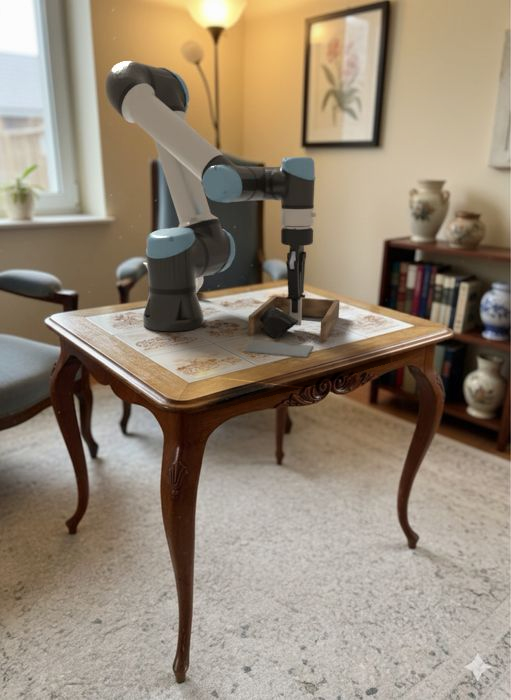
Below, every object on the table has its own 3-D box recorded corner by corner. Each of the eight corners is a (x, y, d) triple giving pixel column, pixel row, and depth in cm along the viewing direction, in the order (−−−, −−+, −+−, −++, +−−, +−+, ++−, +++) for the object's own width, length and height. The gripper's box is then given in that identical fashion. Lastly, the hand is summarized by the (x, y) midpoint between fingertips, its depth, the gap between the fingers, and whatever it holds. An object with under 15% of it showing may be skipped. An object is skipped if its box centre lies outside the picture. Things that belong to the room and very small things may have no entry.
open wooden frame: (248, 336, 128) (248, 316, 127) (272, 313, 150) (273, 295, 149) (325, 343, 123) (326, 322, 122) (338, 318, 145) (339, 300, 144)
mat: (243, 351, 117) (243, 350, 117) (253, 341, 124) (253, 340, 124) (306, 357, 113) (306, 356, 113) (313, 346, 121) (313, 345, 121)
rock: (265, 319, 121) (282, 288, 126) (248, 338, 130) (264, 308, 135) (294, 338, 122) (309, 306, 127) (275, 355, 131) (290, 324, 136)
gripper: (308, 230, 119) (306, 332, 126) (317, 224, 130) (314, 318, 138) (275, 229, 120) (274, 330, 128) (287, 224, 132) (285, 317, 140)
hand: (295, 324), depth 133 cm, fingers closed
